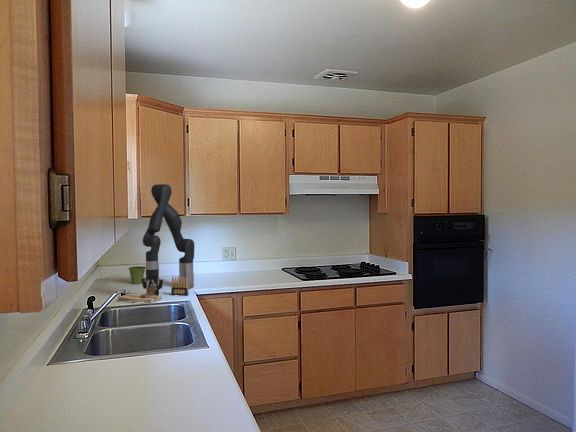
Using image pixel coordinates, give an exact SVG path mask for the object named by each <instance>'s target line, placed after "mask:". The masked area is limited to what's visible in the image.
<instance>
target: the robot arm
mask: <svg viewBox="0 0 576 432" xmlns="http://www.w3.org/2000/svg"><path fill="white" fill-rule="evenodd" d="M172 193H173V191H172V187H171V185H169V184H166V183H163V184H159V183H157V184H154V185H152V186H151V196H152V198H153V199H154V202H155V203H156V204H157V206H156V208H155V209H154V211H153V212H152V214H151V216H150V219H149V222H148V227H147V229H146V231H145V233H144V235H143V238H142V244H143V245H144V246H145V247H149V248H150V250H148V251H146V252H145V267H146V268H145V278H144V277H143V279H142V283H141V284H142V288H143V289H145V290H146V291H147V287H149V286H152V285H153V286H154V287H155V295H157V296H160V295H159V294H160V290H161V289H163V284H164V279H163V278H162V279H161V278H160V277H159V275H160V268H159V267H160V265H159V263H160V262H159V251H160V247H161V243H162V242H161V238H160V237H159V236H158V235H156V233H160V231H161V227H162V224H163V219H164V221H165V222H166V224H167V227H168V229H169V231H170V234H171V236H172V238H173V241H174V245H175V248H176V249H177V252H180V253H184V256H182V257H179V260H178V264H179V265H178V268H179V271H178V273H179V275H178V276H179V281H180V278H181V277H182V283H183V277H184V278H185V280H186V277H187V281H188V290H190V289H193V288H194V287H195V282H194V281H195V274H194V259H195V249H196V247H195V242H194V240H193V239H191V238H184V237H183V235H182V233H181V231H182V230H181V229H182V226H183V225H182V223H183V222H182V219H181V217H180V214H179V212H178V211H177V210H176V209H175V208H174V207H173V206H172V205H171V204H170V203H169V201H170V199H171V197H172Z"/></svg>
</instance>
